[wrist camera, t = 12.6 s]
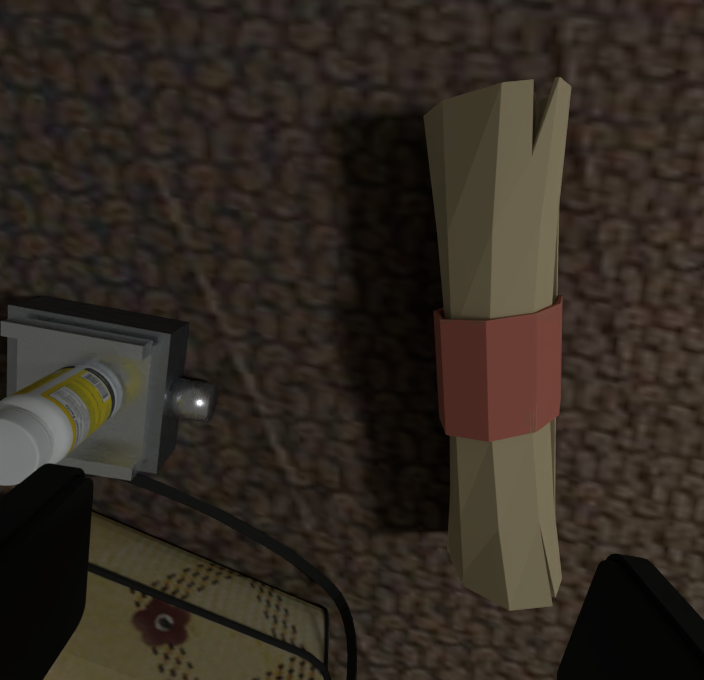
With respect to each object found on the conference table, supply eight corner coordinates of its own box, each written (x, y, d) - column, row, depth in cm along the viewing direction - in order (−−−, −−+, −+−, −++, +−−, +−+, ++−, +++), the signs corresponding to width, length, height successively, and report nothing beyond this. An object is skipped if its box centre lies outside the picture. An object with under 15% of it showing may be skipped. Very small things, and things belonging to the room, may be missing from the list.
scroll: (416, 547, 39) (495, 636, 30) (384, 122, 31) (481, 73, 22) (512, 507, 43) (608, 576, 34) (507, 120, 35) (632, 78, 26)
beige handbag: (369, 573, 42) (383, 757, 28) (333, 628, 44) (329, 831, 29) (55, 435, 38) (-122, 565, 24) (28, 501, 40) (-155, 662, 25)
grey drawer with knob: (44, 295, 35) (-16, 310, 29) (227, 329, 36) (205, 350, 30) (40, 426, 38) (-16, 463, 32) (211, 454, 39) (187, 495, 33)
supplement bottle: (47, 417, 33) (-51, 482, 25) (53, 355, 32) (-47, 402, 23) (115, 431, 33) (41, 500, 25) (123, 371, 32) (48, 422, 24)
